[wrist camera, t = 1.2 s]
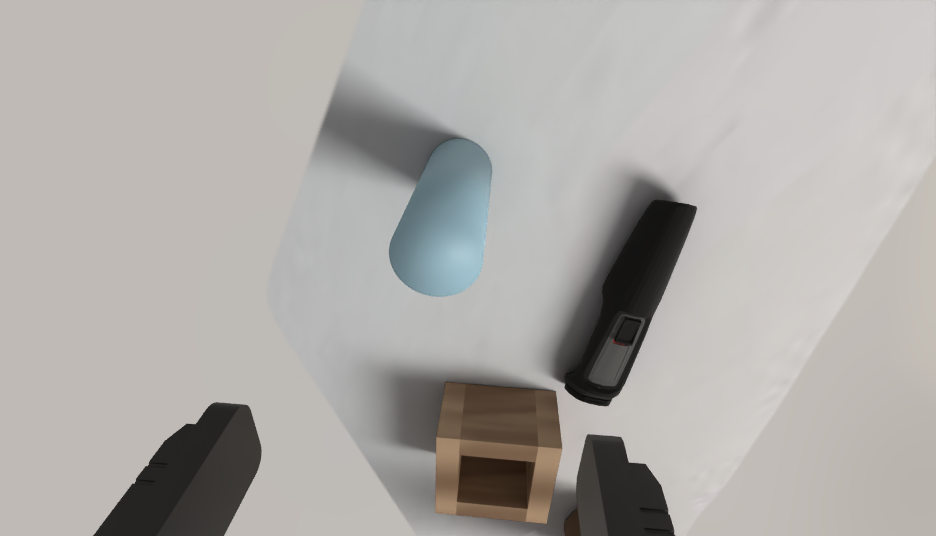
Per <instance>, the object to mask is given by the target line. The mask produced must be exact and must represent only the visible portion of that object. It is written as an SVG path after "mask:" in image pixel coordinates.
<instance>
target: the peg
mask: <svg viewBox="0 0 936 536" xmlns="http://www.w3.org/2000/svg"><path fill="white" fill-rule="evenodd" d="M491 177H492V165H491V161H490V159H489V157H488V155H487V153H486V152H485V151H484V149H483V148H482V147H480V146H479V145H478V144H476V143H474V142H472V141H470V140H466V139H451V140H448V141H445V142H443V143H442V144H440V145H439V146H438V147H437V148H436V149H435V150H434V151H433V153H432V155H431V156H430V159H429V161H428V163H427V165H426V167H425V169H424V171H423V173H422V175H421V178H420V180H419V182H418V184H417V186H416V188H415V190H414V192H413V194H412V197H411V199H410V201H409V203H408V205H407V207H406V209H405V211H404V213H403V216H402V218H401V220H400V222H399V224H398V226H397V228H396V230H395V233H394V235H393V237H392V239H391V242H390V247H389V257H390V262H391V265H392V268H393V270H394V272H395V273H396V275H397V276H398V277H399V279H400V280H401V281H402V282H403V283H404V284H406V285H407V286H408V287H410V288H411V289H413V290H415V291H417V292H419V293H422V294H425V295H429V296H436V297H443V296H450V295H454V294H457V293H460V292H462V291H464V290H465V289H467V288H468V287H469V286H471V285H472V284H473V283H474V281H475V280H476V279H477V277H478V276H479V274H480V272H481V269H482V264H483V256H484V246H485V236H486V226H487V217H488V207H489V197H490V187H491Z"/></svg>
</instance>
